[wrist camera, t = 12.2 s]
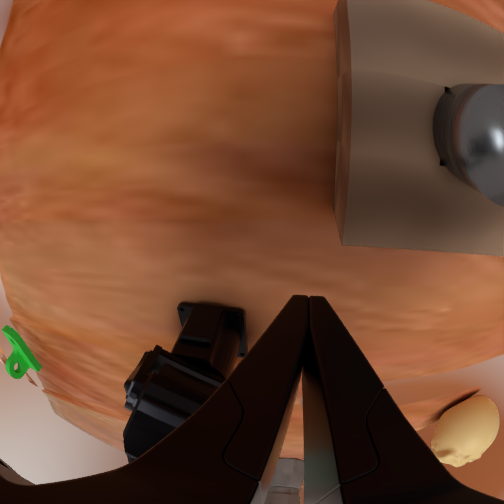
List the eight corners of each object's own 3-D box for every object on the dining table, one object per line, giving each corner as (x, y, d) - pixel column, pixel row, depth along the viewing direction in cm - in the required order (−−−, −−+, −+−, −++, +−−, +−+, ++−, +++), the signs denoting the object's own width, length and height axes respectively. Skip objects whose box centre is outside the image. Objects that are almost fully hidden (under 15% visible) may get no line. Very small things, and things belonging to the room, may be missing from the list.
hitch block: (486, 224, 17) (521, 257, 12) (333, 208, 19) (341, 245, 14) (502, 61, 10) (546, 61, 5) (333, 13, 12) (344, -18, 7)
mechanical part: (42, 366, 49) (26, 389, 42) (29, 359, 50) (14, 380, 43) (18, 330, 43) (-2, 354, 36) (6, 324, 44) (-12, 346, 37)
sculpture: (416, 422, 33) (423, 478, 24) (473, 381, 27) (490, 443, 17) (450, 426, 34) (457, 473, 25) (499, 391, 27) (514, 441, 18)
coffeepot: (253, 455, 47) (236, 528, 31) (294, 452, 43) (282, 533, 28) (285, 473, 52) (275, 534, 37) (321, 470, 48) (314, 535, 33)
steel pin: (461, 167, 15) (534, 213, 8) (398, 155, 16) (459, 198, 9) (467, 95, 12) (548, 107, 5) (401, 77, 13) (469, 67, 6)
